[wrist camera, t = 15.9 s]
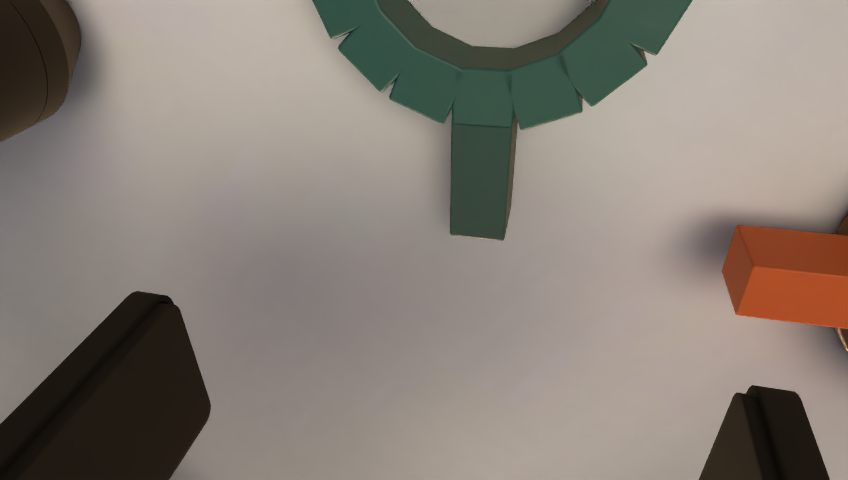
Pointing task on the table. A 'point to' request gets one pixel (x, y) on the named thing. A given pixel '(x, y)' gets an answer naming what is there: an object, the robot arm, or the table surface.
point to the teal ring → (496, 83)
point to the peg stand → (844, 334)
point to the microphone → (34, 61)
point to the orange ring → (788, 275)
